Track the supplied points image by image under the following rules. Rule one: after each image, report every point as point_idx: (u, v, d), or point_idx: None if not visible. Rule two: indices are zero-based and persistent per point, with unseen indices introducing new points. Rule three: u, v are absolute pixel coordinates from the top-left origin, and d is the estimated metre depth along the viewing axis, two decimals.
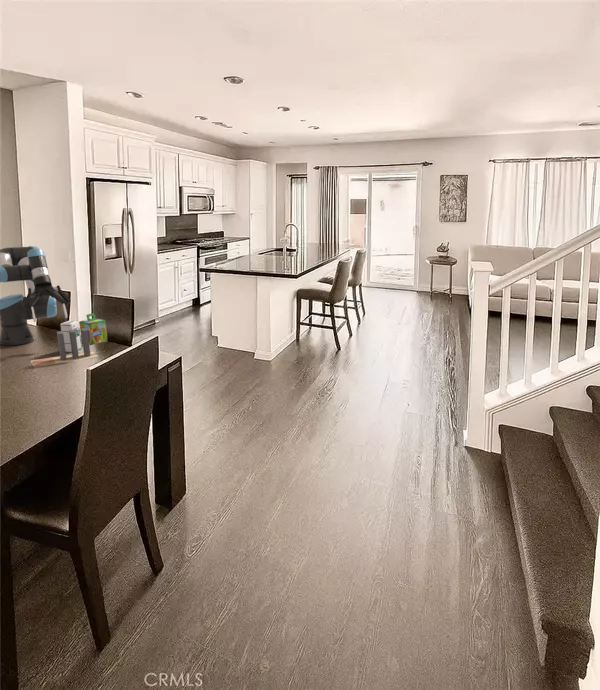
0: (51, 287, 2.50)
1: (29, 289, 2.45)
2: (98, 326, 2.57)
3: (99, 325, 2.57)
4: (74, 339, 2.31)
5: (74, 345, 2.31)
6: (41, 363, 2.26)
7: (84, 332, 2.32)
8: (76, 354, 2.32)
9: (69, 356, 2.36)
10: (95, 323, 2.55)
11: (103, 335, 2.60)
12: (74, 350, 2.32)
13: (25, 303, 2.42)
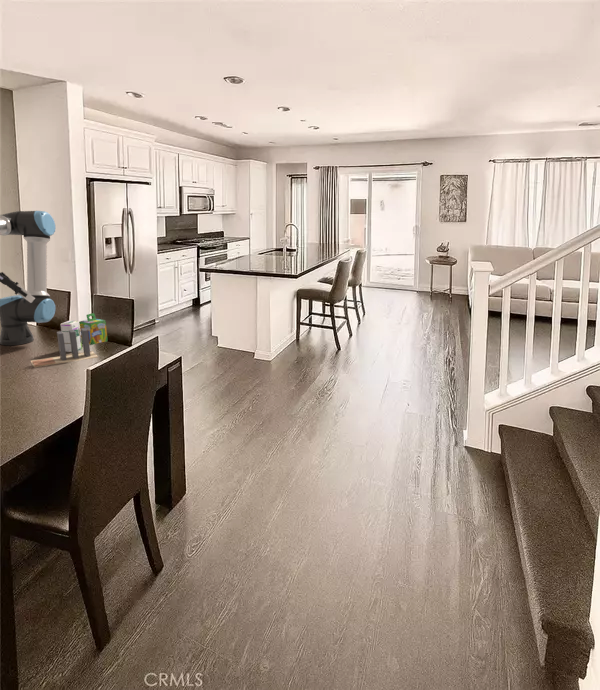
0: None
1: None
2: (98, 326, 2.57)
3: (99, 325, 2.57)
4: (74, 339, 2.31)
5: (74, 345, 2.31)
6: (41, 363, 2.26)
7: (84, 332, 2.32)
8: (76, 354, 2.32)
9: (69, 356, 2.36)
10: (95, 323, 2.55)
11: (103, 335, 2.60)
12: (74, 350, 2.32)
13: None
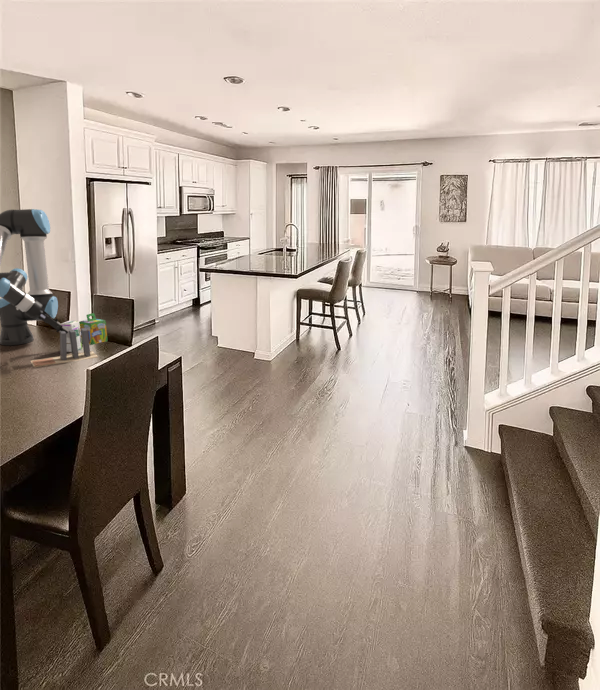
0: (39, 316, 2.31)
1: None
2: (98, 326, 2.57)
3: (99, 325, 2.57)
4: (74, 339, 2.31)
5: (74, 345, 2.31)
6: (41, 363, 2.26)
7: (84, 332, 2.32)
8: (76, 354, 2.32)
9: (69, 356, 2.36)
10: (95, 323, 2.55)
11: (103, 335, 2.60)
12: (74, 350, 2.32)
13: None
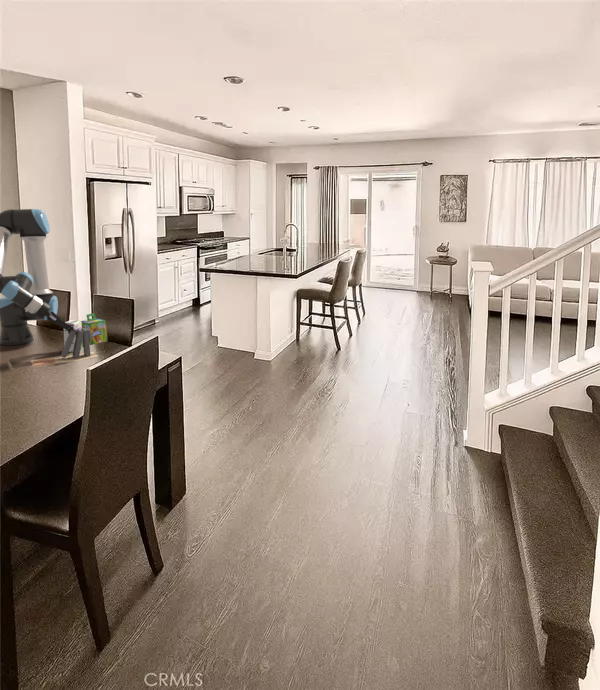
0: (48, 317, 2.34)
1: None
2: (98, 326, 2.57)
3: (99, 325, 2.57)
4: (80, 338, 2.32)
5: (78, 344, 2.32)
6: (41, 363, 2.26)
7: (85, 332, 2.32)
8: (77, 353, 2.33)
9: (69, 356, 2.36)
10: (95, 323, 2.55)
11: (103, 335, 2.60)
12: (77, 349, 2.32)
13: None
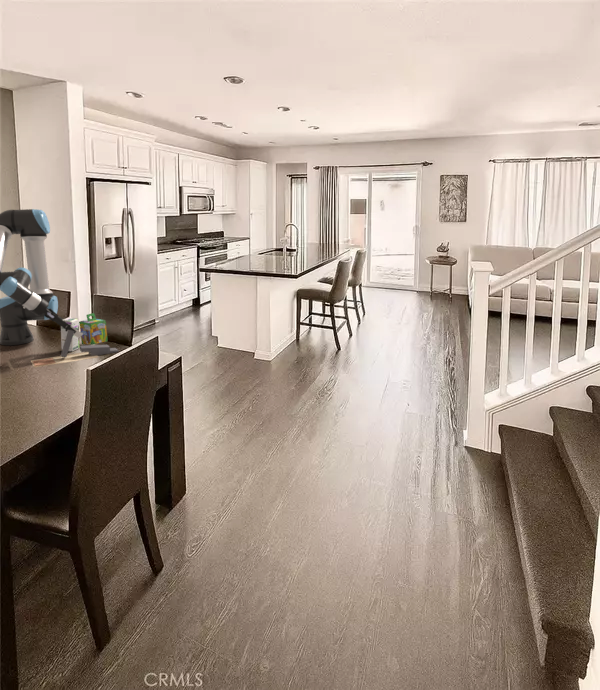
0: (46, 315, 2.33)
1: None
2: (98, 326, 2.57)
3: (99, 325, 2.57)
4: (102, 349, 2.38)
5: (95, 349, 2.36)
6: (41, 363, 2.26)
7: (116, 351, 2.42)
8: (86, 350, 2.34)
9: (69, 356, 2.36)
10: (95, 323, 2.55)
11: (103, 335, 2.60)
12: (90, 348, 2.35)
13: None
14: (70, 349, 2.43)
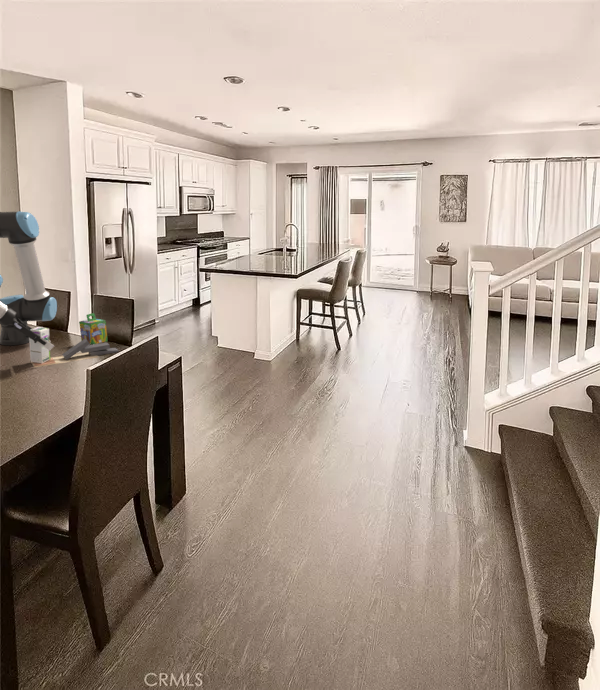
0: (13, 325, 2.16)
1: None
2: (98, 326, 2.57)
3: (99, 325, 2.57)
4: (102, 348, 2.38)
5: (95, 348, 2.36)
6: None
7: (116, 351, 2.42)
8: (86, 350, 2.34)
9: None
10: (95, 323, 2.55)
11: (103, 335, 2.60)
12: (90, 348, 2.35)
13: None
14: (40, 361, 2.25)
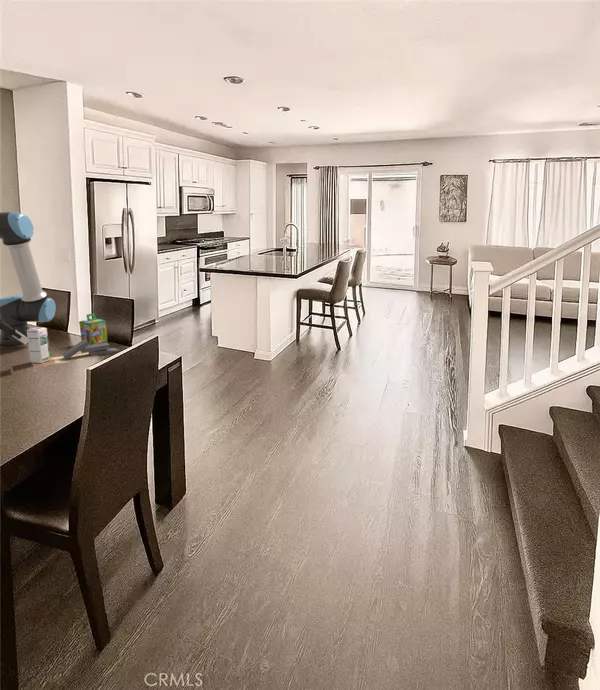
0: None
1: None
2: (98, 326, 2.57)
3: (99, 325, 2.57)
4: (102, 348, 2.38)
5: (95, 348, 2.36)
6: (41, 363, 2.26)
7: (116, 351, 2.42)
8: (86, 350, 2.34)
9: None
10: (95, 323, 2.55)
11: (103, 335, 2.60)
12: (90, 348, 2.35)
13: None
14: (39, 360, 2.25)
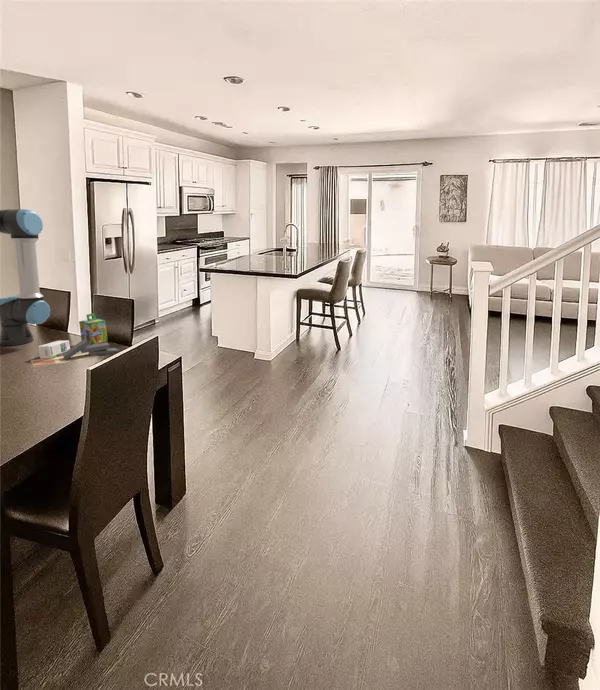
0: None
1: None
2: (98, 326, 2.57)
3: (99, 325, 2.57)
4: (102, 348, 2.38)
5: (95, 348, 2.36)
6: (41, 363, 2.26)
7: (116, 351, 2.42)
8: (86, 350, 2.34)
9: None
10: (95, 323, 2.55)
11: (103, 335, 2.60)
12: (90, 348, 2.35)
13: None
14: (48, 345, 2.32)
